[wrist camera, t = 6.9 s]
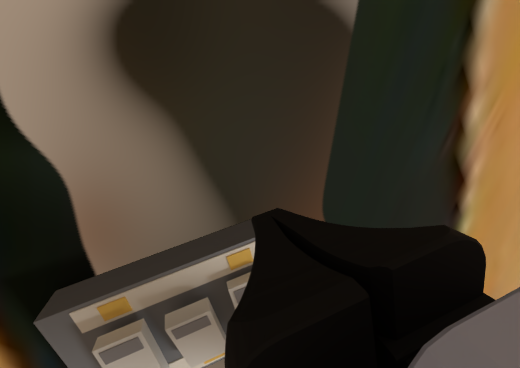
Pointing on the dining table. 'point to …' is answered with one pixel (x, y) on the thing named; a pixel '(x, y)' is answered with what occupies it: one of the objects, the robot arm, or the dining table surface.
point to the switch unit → (148, 295)
